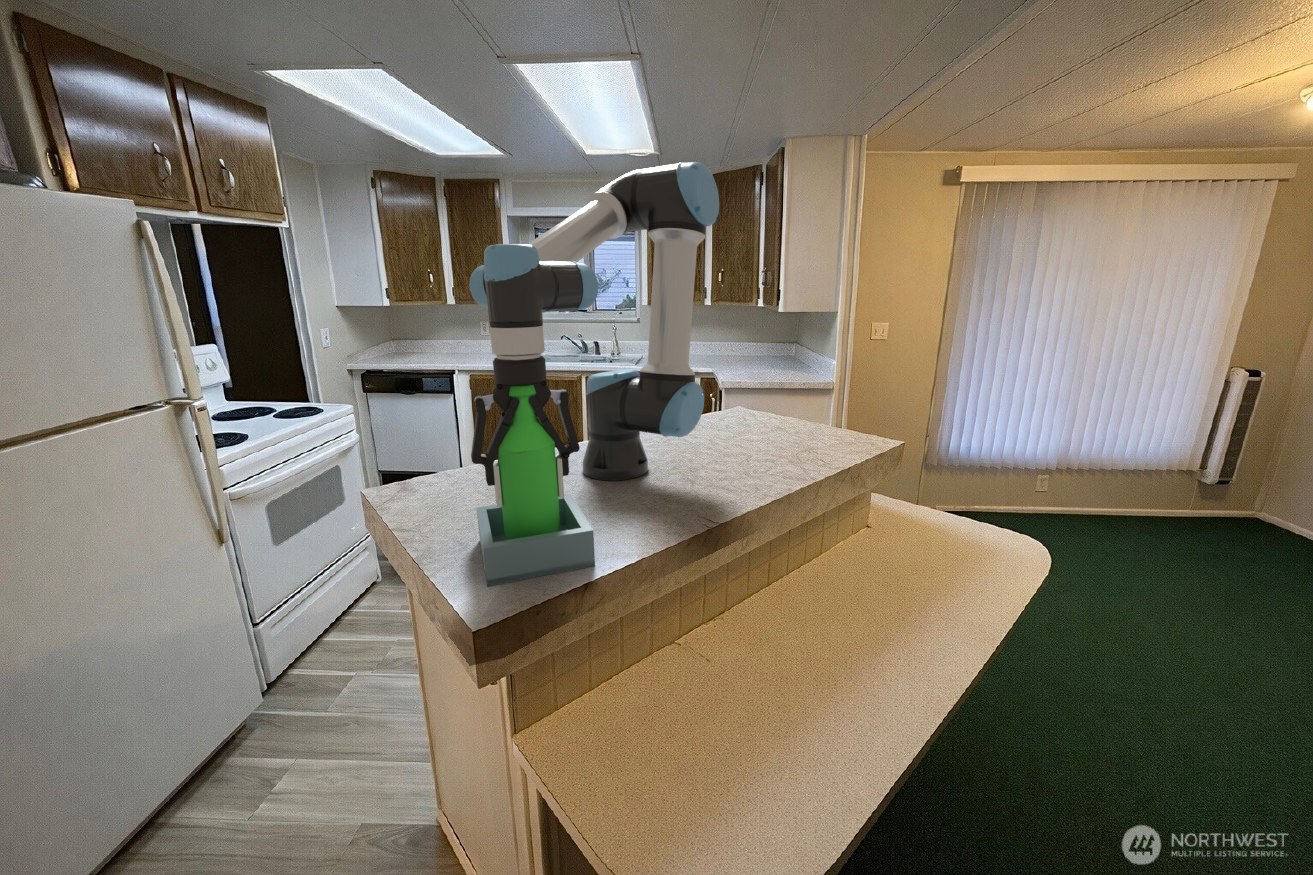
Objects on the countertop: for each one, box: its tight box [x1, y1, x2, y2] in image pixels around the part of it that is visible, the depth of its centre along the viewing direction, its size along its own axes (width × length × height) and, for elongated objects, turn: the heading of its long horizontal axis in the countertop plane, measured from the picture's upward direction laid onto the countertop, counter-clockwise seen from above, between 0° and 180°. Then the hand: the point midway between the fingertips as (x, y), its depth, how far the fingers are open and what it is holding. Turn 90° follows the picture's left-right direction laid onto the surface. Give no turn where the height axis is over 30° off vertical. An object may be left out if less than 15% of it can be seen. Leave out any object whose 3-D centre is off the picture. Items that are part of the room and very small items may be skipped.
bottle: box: [496, 385, 560, 540], centre depth 85 cm, size 9×9×25 cm
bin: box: [475, 493, 596, 587], centre depth 88 cm, size 16×16×6 cm
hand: (530, 499), depth 86 cm, fingers closed on bottle, 9 cm apart
